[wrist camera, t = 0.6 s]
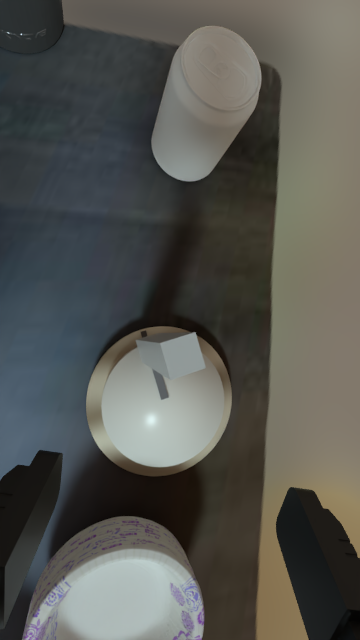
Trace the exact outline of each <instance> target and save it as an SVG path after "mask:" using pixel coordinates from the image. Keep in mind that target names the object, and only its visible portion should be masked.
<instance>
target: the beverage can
mask: <svg viewBox="0 0 360 640" xmlns="http://www.w3.org/2000/svg"><path fill="white" fill-rule="evenodd" d="M260 86H261V69H260V65H259V61H258V59H257V57H256V55H255V53H254V51H253V50H252V48H251V47H250V45H249V44H248V43H247V42H246V41H245V40H244V39H243V38H242V37H241V36H239V35H238V34H237V33H235V32H233V31H232V30H229V29H227V28H224V27H220V26H204V27H201V28H198V29H196V30H195V31H193V32H192V33H191V34H190V35H189V36H188V37H187V39H186V40H185V41H184V42H183V43H182V44H181V45H180V47H179V48H178V49H177V51H176V53H175V55H174V57H173V60H172V64H171V67H170V71H169V75H168V78H167V82H166V86H165V89H164V93H163V97H162V100H161V104H160V108H159V111H158V115H157V119H156V122H155V126H154V130H153V134H152V139H151V145H152V151H153V154H154V157H155V159H156V161H157V163H158V164H159V165H160V167H161V168H162V169H163V170H164V171H165V172H166V173H167V174H169V175H170V176H172V177H174V178H176V179H178V180H182V181H197V180H200V179H202V178H204V177H206V176H207V175H208V174H210V172H211V171H212V170H213V169H214V167H215V166H216V164H217V163H218V161H219V160H220V159H221V157H222V156H223V154H224V153H225V151H226V150H227V149H228V147H229V146H230V144H231V143H232V141H233V140H234V138H235V137H236V136H237V134H238V133H239V131H240V130H241V128H242V127H243V126H244V124H245V123H246V121H247V120H248V118H249V117H250V116H251V114H252V113H253V111H254V109H255V107H256V104H257V101H258V96H259V90H260Z"/></svg>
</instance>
